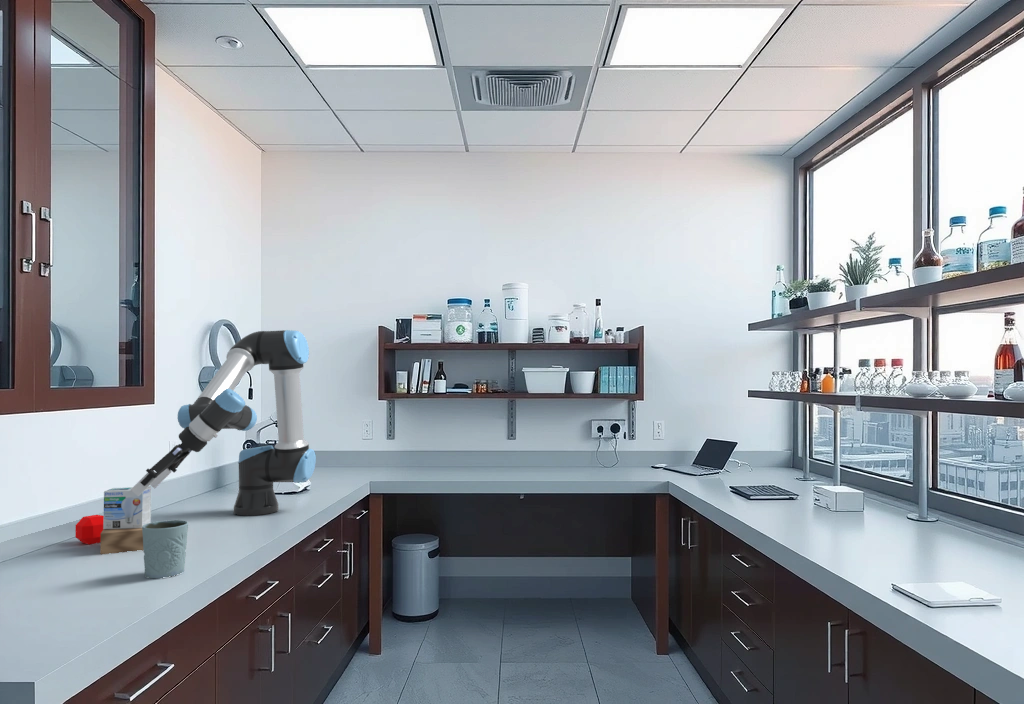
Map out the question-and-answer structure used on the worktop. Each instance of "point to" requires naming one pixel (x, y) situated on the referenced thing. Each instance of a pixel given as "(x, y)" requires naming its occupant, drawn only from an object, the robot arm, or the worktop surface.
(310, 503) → the worktop surface
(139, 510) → the light bulb box
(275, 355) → the robot arm
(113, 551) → the walnut block
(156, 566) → the grey green embossed cup
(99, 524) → the ball
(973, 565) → the worktop surface
